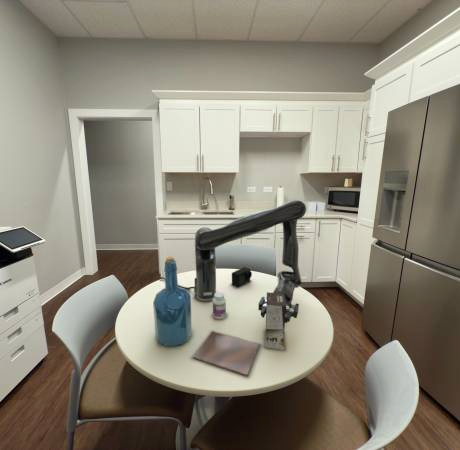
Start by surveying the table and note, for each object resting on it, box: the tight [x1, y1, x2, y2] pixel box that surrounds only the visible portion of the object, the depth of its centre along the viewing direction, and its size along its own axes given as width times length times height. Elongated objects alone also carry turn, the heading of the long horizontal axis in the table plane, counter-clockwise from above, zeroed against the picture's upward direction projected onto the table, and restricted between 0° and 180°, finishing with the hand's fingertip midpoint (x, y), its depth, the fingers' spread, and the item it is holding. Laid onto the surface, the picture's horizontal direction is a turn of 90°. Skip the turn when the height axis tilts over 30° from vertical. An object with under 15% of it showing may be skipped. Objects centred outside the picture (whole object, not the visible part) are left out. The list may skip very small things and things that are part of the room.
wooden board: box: [193, 331, 260, 377], centre depth 83 cm, size 18×14×1 cm
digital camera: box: [231, 266, 253, 288], centre depth 131 cm, size 10×5×7 cm, turn 136°
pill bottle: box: [212, 291, 227, 320], centre depth 102 cm, size 5×5×10 cm
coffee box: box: [264, 291, 286, 350], centre depth 86 cm, size 9×6×16 cm
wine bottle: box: [152, 256, 193, 347], centre depth 88 cm, size 14×13×30 cm
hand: (274, 317), depth 84 cm, fingers closed on coffee box, 7 cm apart
